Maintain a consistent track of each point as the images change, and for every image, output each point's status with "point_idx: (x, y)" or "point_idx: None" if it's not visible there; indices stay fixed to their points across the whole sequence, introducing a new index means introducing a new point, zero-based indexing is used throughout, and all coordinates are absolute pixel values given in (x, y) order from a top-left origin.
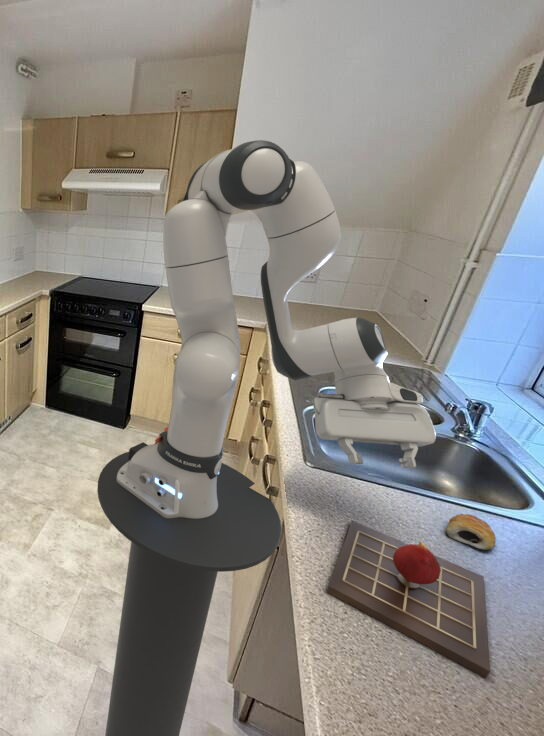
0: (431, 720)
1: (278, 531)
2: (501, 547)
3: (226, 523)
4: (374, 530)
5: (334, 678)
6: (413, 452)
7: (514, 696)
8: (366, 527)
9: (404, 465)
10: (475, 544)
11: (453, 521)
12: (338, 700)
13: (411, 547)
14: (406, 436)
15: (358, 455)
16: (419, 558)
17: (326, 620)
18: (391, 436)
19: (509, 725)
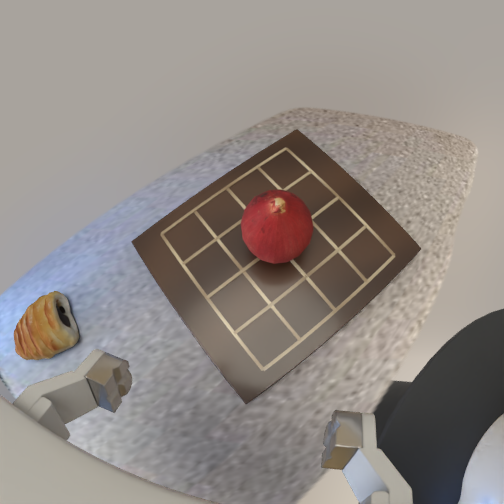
0: (390, 122)
1: (415, 391)
2: (35, 300)
3: (485, 403)
4: (222, 367)
5: (456, 163)
6: (57, 386)
7: (284, 123)
8: (232, 379)
9: (123, 378)
10: (66, 305)
11: (55, 342)
12: (459, 150)
13: (291, 220)
14: (27, 439)
15: (354, 437)
16: (296, 200)
17: (437, 215)
18: (107, 481)
19: (319, 109)
